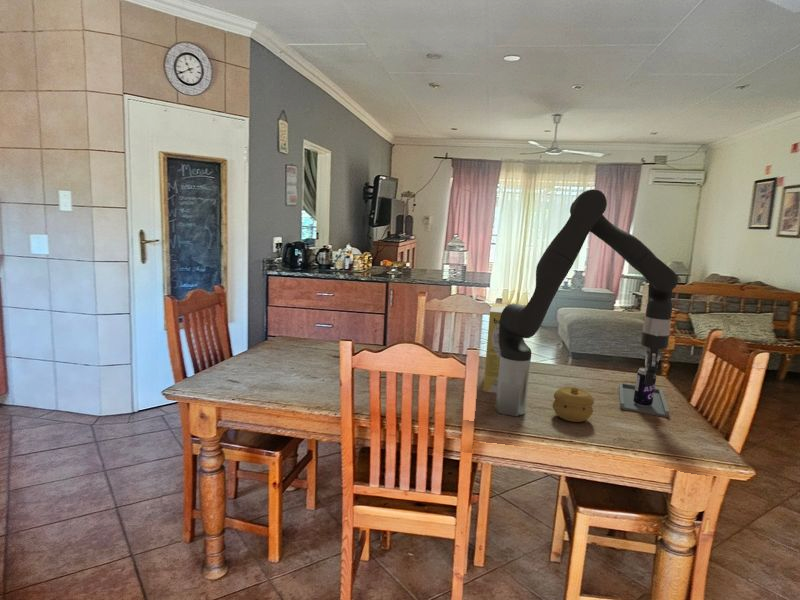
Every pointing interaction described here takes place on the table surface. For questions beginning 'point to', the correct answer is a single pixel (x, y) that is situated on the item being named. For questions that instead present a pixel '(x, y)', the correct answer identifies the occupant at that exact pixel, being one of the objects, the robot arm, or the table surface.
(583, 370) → the table surface
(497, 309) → the pasta box
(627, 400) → the gray tray
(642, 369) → the beverage can
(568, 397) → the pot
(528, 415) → the table surface
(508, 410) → the robot arm
